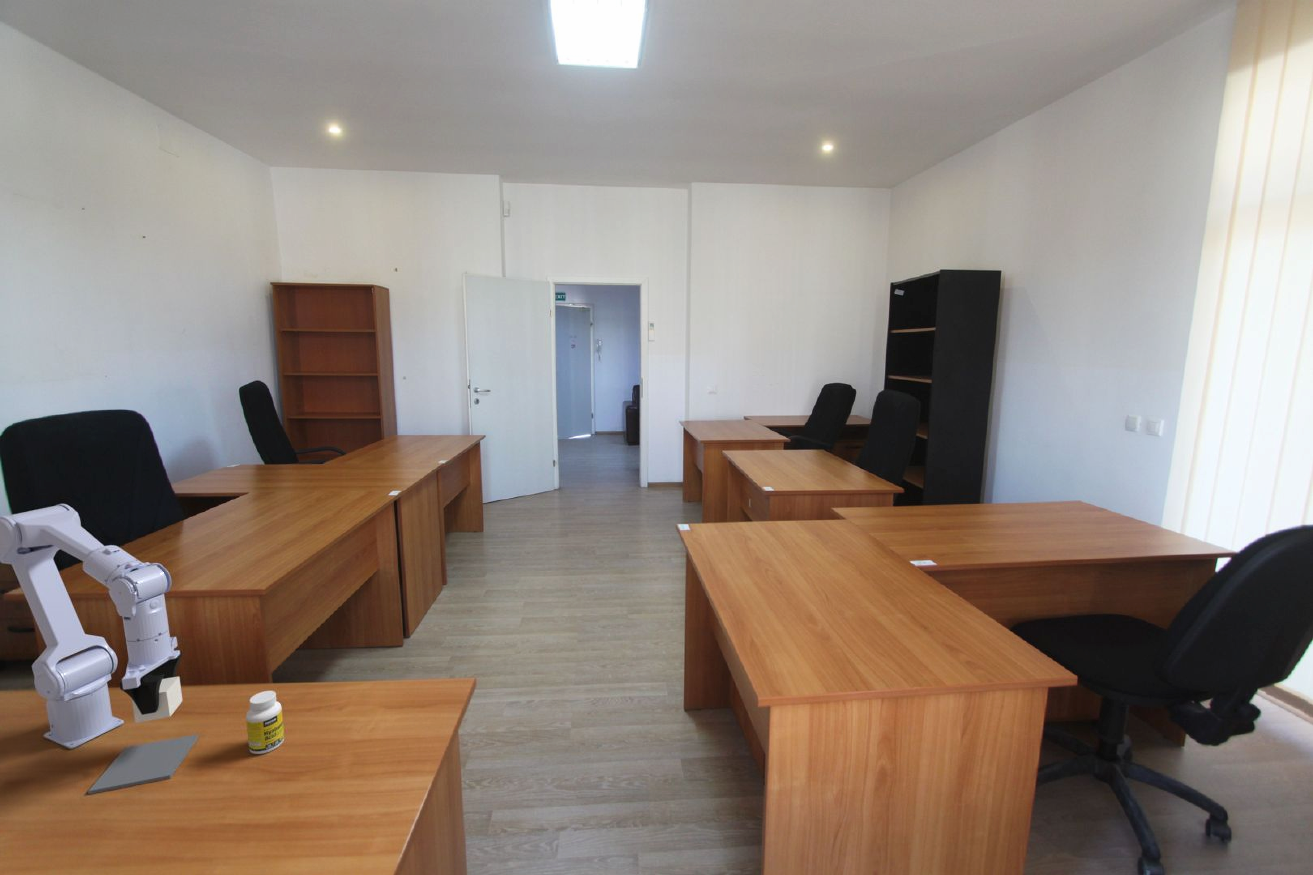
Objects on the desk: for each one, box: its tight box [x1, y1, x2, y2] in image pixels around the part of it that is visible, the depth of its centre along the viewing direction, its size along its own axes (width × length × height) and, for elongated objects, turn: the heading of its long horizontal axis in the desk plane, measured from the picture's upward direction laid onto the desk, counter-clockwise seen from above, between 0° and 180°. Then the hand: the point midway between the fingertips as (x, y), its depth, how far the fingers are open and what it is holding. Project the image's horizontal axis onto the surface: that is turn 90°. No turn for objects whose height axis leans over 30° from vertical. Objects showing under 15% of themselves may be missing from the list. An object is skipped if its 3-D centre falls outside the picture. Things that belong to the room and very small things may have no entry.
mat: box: [87, 734, 200, 795], centre depth 99 cm, size 11×11×1 cm
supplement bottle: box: [245, 690, 285, 755], centre depth 103 cm, size 5×5×10 cm
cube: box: [131, 676, 183, 724], centre depth 102 cm, size 5×5×5 cm
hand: (157, 703), depth 102 cm, fingers closed on cube, 5 cm apart
